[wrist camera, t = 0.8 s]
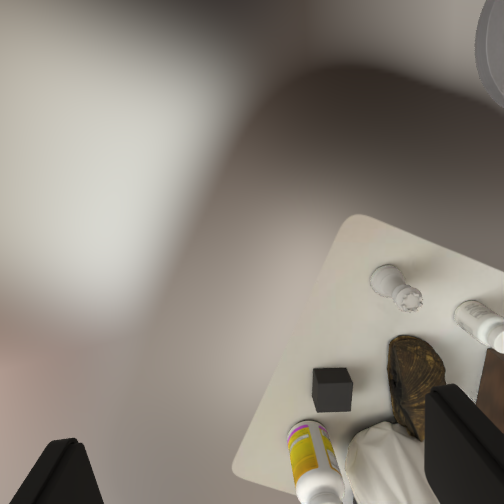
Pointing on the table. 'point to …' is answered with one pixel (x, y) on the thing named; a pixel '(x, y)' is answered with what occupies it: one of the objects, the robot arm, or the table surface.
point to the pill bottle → (481, 324)
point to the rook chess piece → (396, 288)
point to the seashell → (412, 381)
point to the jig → (492, 388)
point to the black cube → (332, 390)
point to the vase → (388, 467)
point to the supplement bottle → (314, 465)
